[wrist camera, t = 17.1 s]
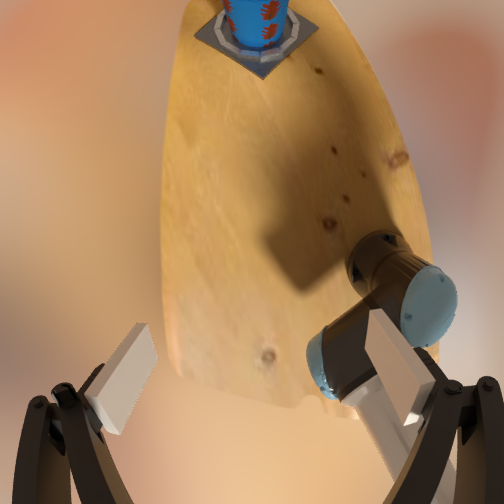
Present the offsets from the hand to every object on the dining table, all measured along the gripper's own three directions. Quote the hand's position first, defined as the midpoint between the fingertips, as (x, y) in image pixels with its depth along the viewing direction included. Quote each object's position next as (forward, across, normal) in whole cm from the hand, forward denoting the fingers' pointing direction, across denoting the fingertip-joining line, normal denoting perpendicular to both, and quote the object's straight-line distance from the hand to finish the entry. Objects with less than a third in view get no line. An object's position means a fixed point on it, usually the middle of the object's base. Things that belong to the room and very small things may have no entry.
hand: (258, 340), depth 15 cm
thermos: (+38, -3, -41) cm, 56 cm away
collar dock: (+39, -3, -41) cm, 56 cm away
